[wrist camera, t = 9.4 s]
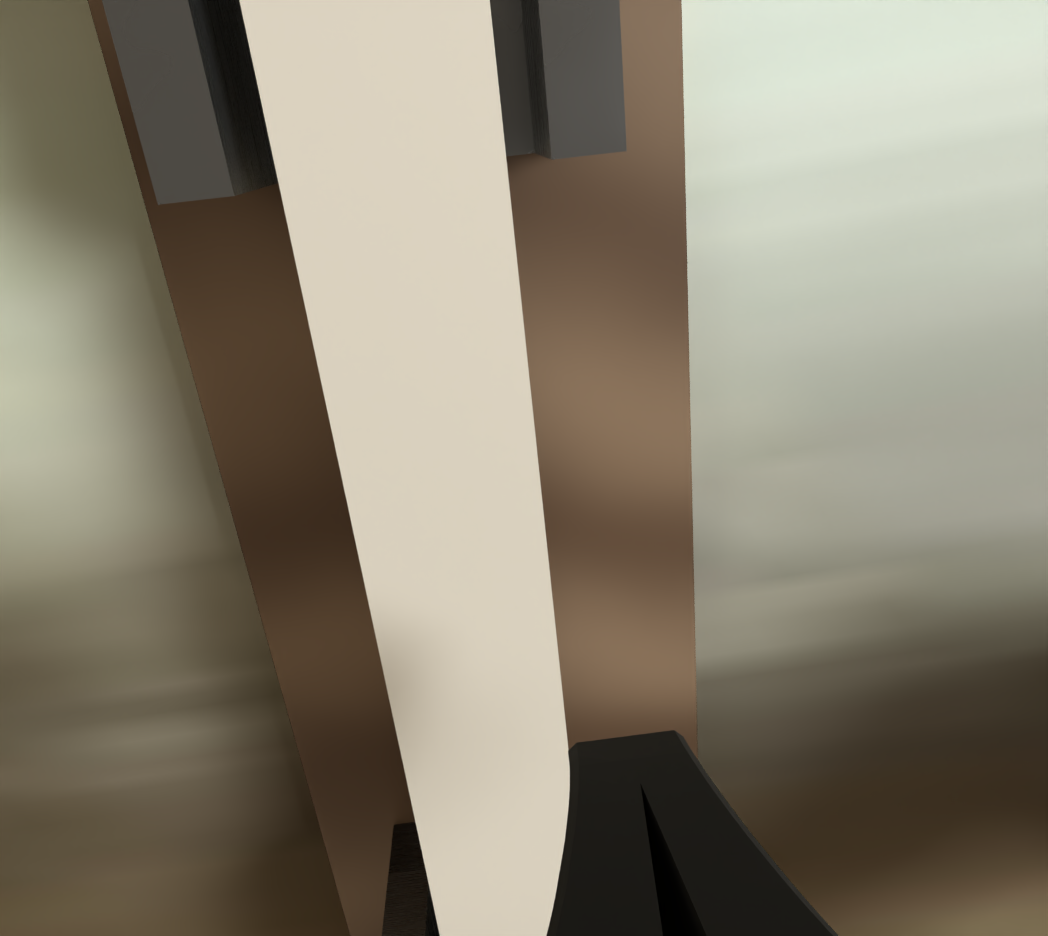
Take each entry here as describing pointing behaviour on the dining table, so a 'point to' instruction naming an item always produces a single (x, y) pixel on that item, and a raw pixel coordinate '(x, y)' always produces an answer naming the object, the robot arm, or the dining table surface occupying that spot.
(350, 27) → the slat
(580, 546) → the frame board
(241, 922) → the dining table surface
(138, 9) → the end caps
